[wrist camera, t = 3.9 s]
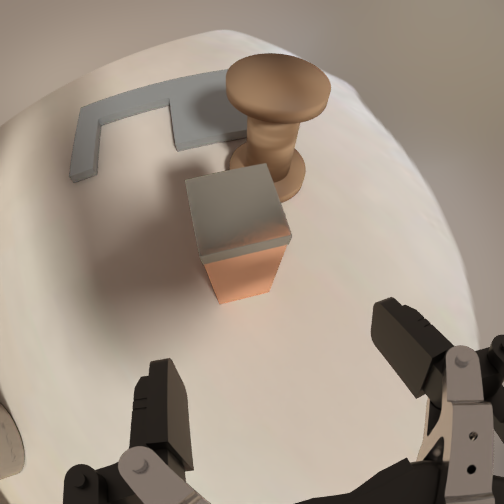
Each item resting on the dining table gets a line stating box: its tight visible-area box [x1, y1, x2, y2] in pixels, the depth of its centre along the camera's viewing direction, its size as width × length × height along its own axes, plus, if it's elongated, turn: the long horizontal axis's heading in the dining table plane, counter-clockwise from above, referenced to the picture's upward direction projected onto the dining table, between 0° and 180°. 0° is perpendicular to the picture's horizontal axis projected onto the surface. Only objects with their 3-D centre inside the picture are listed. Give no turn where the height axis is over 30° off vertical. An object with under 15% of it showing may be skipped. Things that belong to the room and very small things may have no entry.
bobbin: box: [226, 53, 331, 203], centre depth 22 cm, size 7×7×11 cm
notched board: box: [69, 69, 247, 183], centre depth 29 cm, size 20×12×1 cm, turn 105°
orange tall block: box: [185, 163, 292, 304], centre depth 18 cm, size 4×4×11 cm
